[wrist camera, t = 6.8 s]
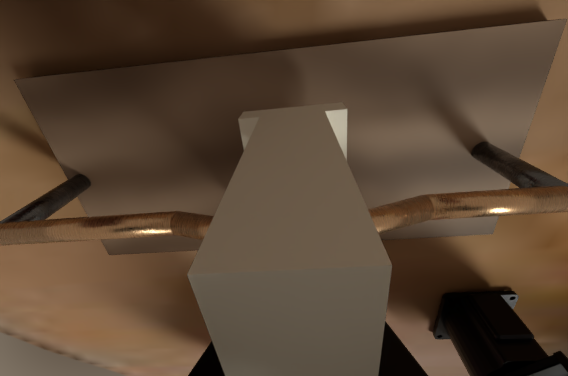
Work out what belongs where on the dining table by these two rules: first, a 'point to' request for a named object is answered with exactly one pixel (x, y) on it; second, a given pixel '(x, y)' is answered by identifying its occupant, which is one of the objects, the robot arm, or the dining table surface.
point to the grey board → (293, 93)
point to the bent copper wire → (524, 200)
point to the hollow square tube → (293, 254)
